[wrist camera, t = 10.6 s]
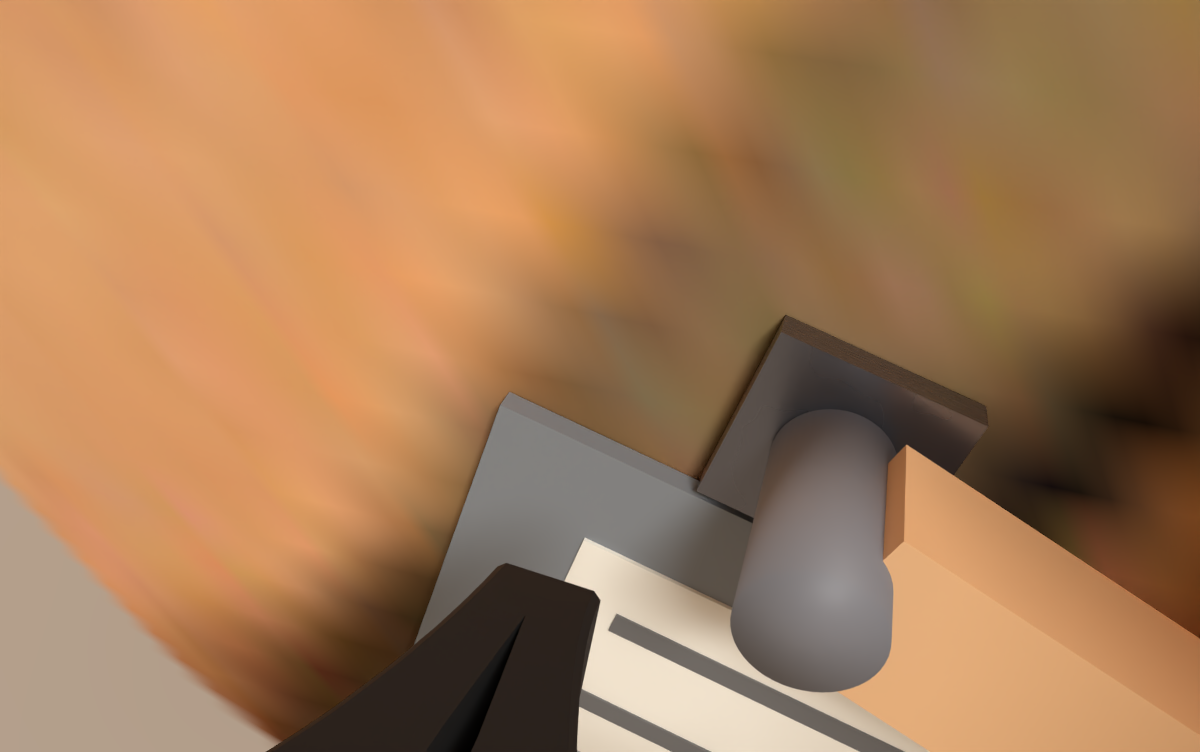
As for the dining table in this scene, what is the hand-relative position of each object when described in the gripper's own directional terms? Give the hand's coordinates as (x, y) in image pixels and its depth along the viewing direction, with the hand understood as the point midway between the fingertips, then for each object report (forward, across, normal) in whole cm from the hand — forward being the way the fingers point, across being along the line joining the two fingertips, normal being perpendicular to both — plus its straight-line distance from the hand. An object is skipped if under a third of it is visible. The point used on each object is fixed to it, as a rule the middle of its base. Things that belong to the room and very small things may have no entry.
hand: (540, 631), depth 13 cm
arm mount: (+9, -4, +2) cm, 10 cm away
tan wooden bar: (+9, -11, +4) cm, 15 cm away
